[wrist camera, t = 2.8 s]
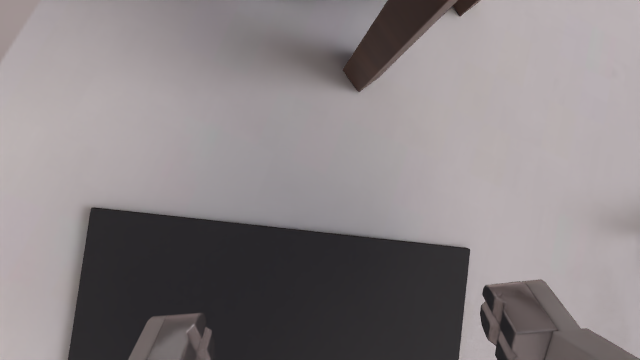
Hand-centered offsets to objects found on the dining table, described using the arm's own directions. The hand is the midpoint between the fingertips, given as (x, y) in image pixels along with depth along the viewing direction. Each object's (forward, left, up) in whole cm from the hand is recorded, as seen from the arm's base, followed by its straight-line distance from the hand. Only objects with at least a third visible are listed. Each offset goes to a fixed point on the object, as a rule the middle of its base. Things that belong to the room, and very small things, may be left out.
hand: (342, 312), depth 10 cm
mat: (0, -8, -14) cm, 17 cm away
